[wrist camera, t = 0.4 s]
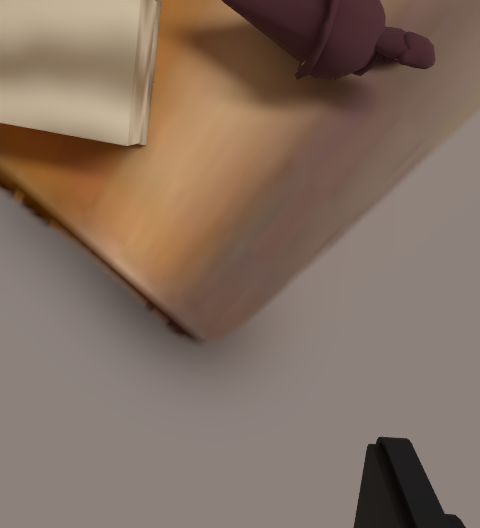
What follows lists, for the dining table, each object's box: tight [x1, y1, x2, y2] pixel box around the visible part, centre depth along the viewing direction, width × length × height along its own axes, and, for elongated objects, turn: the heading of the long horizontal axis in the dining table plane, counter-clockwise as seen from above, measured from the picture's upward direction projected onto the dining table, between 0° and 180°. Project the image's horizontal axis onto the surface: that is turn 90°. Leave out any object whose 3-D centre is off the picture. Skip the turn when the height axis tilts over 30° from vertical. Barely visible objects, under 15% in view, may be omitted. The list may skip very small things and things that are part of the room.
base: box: [0, 0, 161, 146], centre depth 32 cm, size 10×10×5 cm
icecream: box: [222, 0, 435, 80], centre depth 30 cm, size 7×7×15 cm
